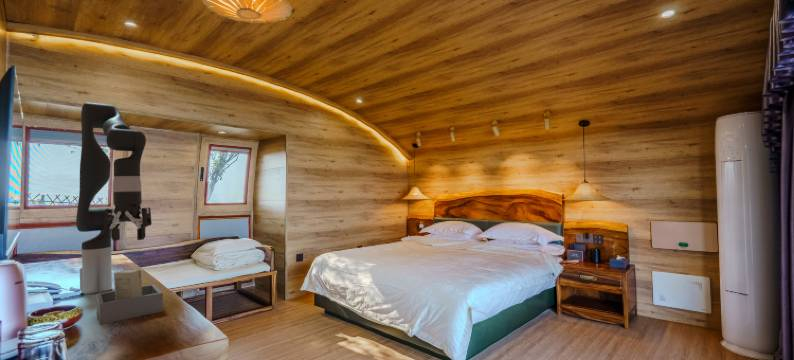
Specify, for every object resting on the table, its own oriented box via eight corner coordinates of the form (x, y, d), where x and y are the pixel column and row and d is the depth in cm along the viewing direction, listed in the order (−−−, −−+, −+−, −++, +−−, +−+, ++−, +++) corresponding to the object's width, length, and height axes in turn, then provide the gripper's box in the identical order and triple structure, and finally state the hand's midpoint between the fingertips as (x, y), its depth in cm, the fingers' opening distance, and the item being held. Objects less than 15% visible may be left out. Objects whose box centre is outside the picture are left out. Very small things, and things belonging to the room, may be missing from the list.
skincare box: (143, 306, 124) (142, 269, 124) (133, 310, 120) (132, 272, 120) (125, 306, 124) (124, 269, 125) (114, 311, 120) (113, 272, 120)
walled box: (99, 324, 111) (99, 304, 111) (97, 312, 123) (96, 293, 123) (162, 311, 121) (162, 292, 121) (154, 301, 133) (154, 284, 133)
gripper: (156, 189, 126) (157, 238, 126) (116, 190, 127) (117, 238, 127) (139, 190, 118) (140, 241, 118) (97, 191, 119) (97, 242, 119)
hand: (128, 240), depth 122 cm, fingers open, 8 cm apart
